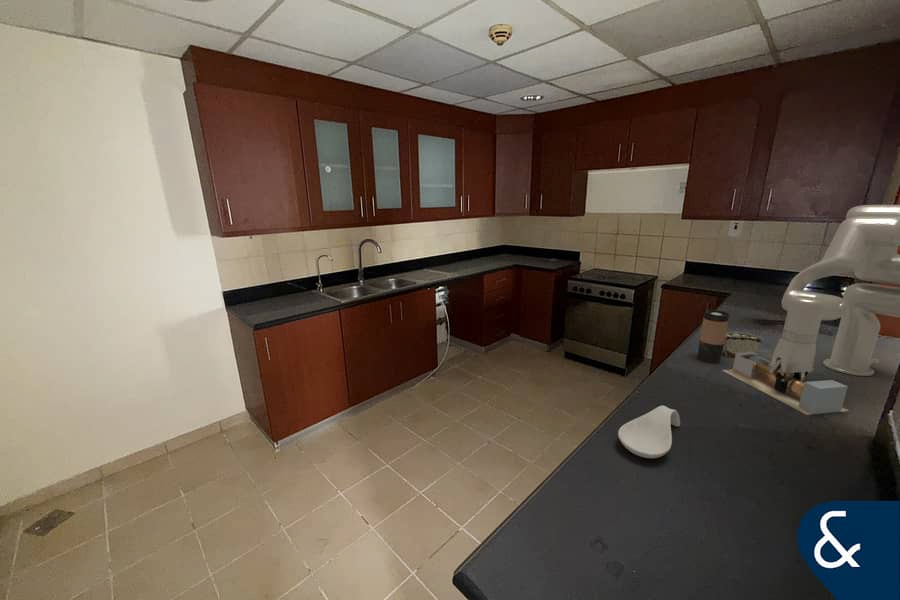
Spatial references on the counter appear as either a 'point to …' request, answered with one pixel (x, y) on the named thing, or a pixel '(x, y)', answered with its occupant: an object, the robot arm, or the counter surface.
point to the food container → (741, 343)
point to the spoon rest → (650, 432)
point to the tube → (763, 371)
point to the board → (774, 391)
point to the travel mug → (712, 336)
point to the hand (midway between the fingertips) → (786, 390)
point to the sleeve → (748, 364)
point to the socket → (823, 396)
